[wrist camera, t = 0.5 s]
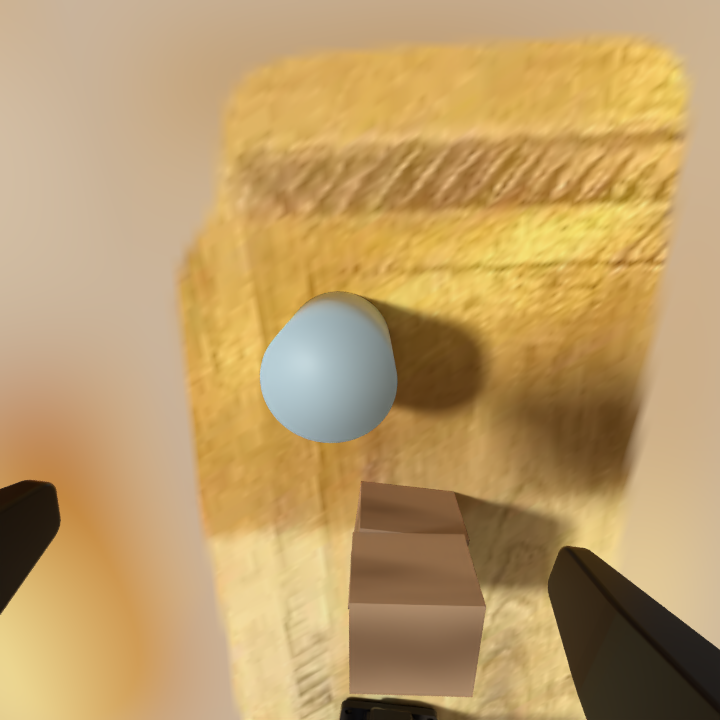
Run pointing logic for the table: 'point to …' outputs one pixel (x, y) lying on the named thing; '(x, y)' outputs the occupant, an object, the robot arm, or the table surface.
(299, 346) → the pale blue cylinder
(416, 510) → the lower block
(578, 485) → the table surface
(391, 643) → the upper block
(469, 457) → the table surface
